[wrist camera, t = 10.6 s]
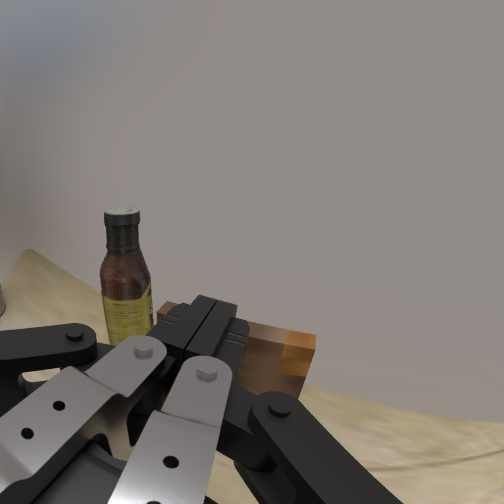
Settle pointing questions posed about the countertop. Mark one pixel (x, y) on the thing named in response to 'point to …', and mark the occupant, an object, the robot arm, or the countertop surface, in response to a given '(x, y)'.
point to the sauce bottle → (125, 278)
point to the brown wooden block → (271, 358)
